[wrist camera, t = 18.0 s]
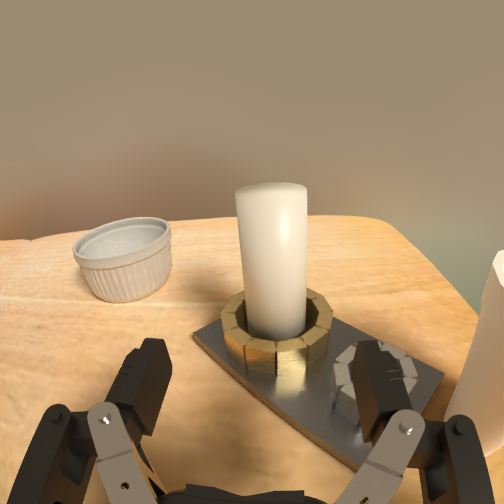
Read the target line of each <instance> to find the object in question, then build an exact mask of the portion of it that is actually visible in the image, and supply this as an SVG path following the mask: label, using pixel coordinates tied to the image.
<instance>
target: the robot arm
mask: <svg viewBox="0 0 504 504" xmlns="http://www.w3.org/2000/svg"><path fill="white" fill-rule="evenodd" d="M171 375H172V363H171V360H170V357H169V354H168V351H167V347H166V344H165V341H164V340H163V339H156V338H145V339H144V341H143V343H142V345H141V347H140V349H137V348H135V349H133V350H132V351H131V352H130V353H129V354H128V355H127V356H126V358H125V360H124V362H123V364H122V367H121V368H120V370H119V372H118V374H117V376H116V378H115V380H114V382H113V384H112V386H111V388H110V391H109V393H108V395H107V397H106V399H105V401H104V402H101V403H98V404H96V405H94V406H93V407H92V408H91V409H90V410H89V411H83V412H71V411H70V410H69V409H68V408H67V407H66V406H65V405H63V404H55V405H52V406H50V407H49V408H48V409H47V410H46V411H45V413H44V415H43V417H42V419H41V421H40V423H39V425H38V427H37V429H36V432H35V434H34V436H33V438H32V440H31V443H30V445H29V447H28V450H27V452H26V454H25V457H24V459H23V461H22V464H21V466H20V469H19V471H18V474H17V476H16V479H15V482H14V484H13V487H12V490H11V493H10V495H9V498H8V501H7V504H83V500H84V497H85V493H86V490H87V487H88V483H89V480H90V476H91V473H92V470H93V467H94V464H95V460H96V457H97V456H98V457H99V461H97V462H96V466H97V470H98V472H99V475H100V478H101V481H102V484H103V486H104V489H105V492H106V494H107V497H108V499H109V502H110V504H327V503H325V502H323V501H321V500H319V499H316V498H312V497H309V496H304V490H299V491H272V492H267V493H261V494H256V495H250V496H240V495H236V494H233V493H230V492H227V491H224V490H221V489H217V488H215V487H206V486H199V485H192V484H186V488H185V489H184V490H177V491H173V492H169V493H168V492H167V490H166V488H165V487H164V485H163V484H162V482H161V481H160V479H159V478H158V476H157V474H156V472H155V470H154V468H153V466H152V464H151V462H150V460H149V458H148V456H147V454H146V452H145V450H144V448H143V445H142V443H141V442H140V441H141V438H142V435H147V436H152V433H153V430H154V427H155V424H156V421H157V418H158V415H159V412H160V409H161V406H162V403H163V400H164V397H165V394H166V391H167V388H168V385H169V382H170V379H171ZM351 376H352V382H353V387H354V392H355V397H356V403H357V408H358V413H359V419H360V425H361V430H362V436H363V442H364V443H369V442H372V447H373V449H372V451H371V453H370V454H369V456H368V457H367V459H366V460H365V462H364V463H363V465H362V466H361V468H360V469H359V471H358V472H357V473H356V475H355V476H354V478H353V479H352V480H351V482H350V483H349V485H348V486H347V487H346V489H345V490H344V491H343V493H342V494H341V495H340V497H339V498H338V499H337V500H336V502H335V503H334V504H388V503H389V502H390V500H391V498H392V497H393V495H394V493H395V492H396V490H397V488H398V487H399V485H400V483H401V481H402V479H403V473H404V471H405V469H406V468H418V469H419V474H420V481H421V489H422V496H423V504H495V501H494V496H493V491H492V486H491V482H490V477H489V473H488V469H487V465H486V461H485V457H484V454H483V450H482V446H481V443H480V440H479V436H478V433H477V430H476V427H475V424H474V422H473V421H472V420H471V419H470V418H469V417H467V416H465V415H461V414H458V415H454V416H452V417H450V418H449V419H448V420H447V422H439V421H429V420H425V419H423V417H422V416H421V415H420V414H419V413H417V412H416V411H414V410H413V408H412V405H411V402H410V399H409V395H408V392H407V389H406V386H405V383H404V380H403V379H402V375H401V372H400V371H399V366H398V363H397V361H396V359H395V357H394V356H393V355H392V354H391V353H390V352H389V351H381V350H380V347H379V344H378V341H377V340H376V339H372V340H359V341H358V342H357V346H356V350H355V355H354V359H353V363H352V369H351Z"/></svg>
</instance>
